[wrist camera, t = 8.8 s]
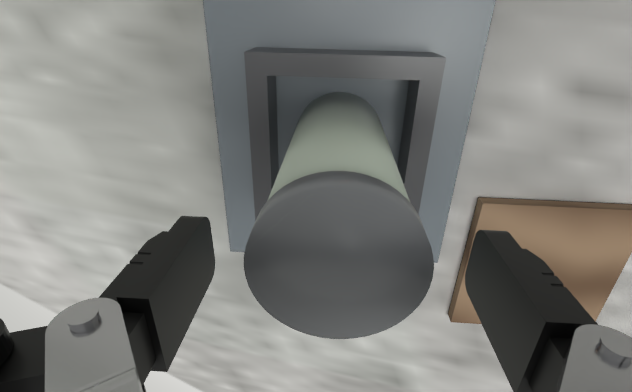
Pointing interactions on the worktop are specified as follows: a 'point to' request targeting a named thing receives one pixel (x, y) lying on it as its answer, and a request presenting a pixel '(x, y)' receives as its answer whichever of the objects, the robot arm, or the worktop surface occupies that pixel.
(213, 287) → the worktop surface
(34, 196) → the worktop surface
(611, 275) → the coaster
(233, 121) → the base
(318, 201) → the cylinder
